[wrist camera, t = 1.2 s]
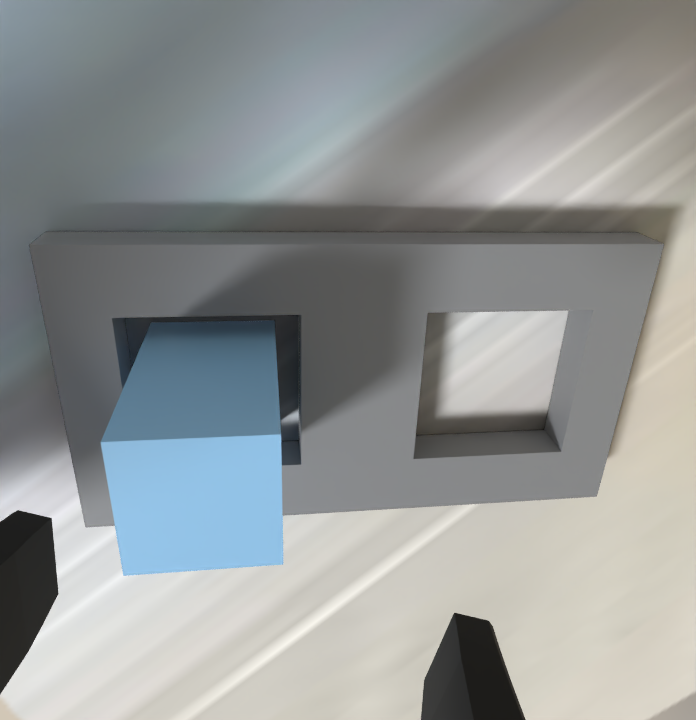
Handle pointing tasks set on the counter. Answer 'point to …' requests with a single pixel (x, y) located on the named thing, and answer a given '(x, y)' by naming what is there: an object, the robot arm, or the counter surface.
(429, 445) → the holder plate
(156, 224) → the counter surface
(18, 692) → the counter surface
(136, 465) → the plug
